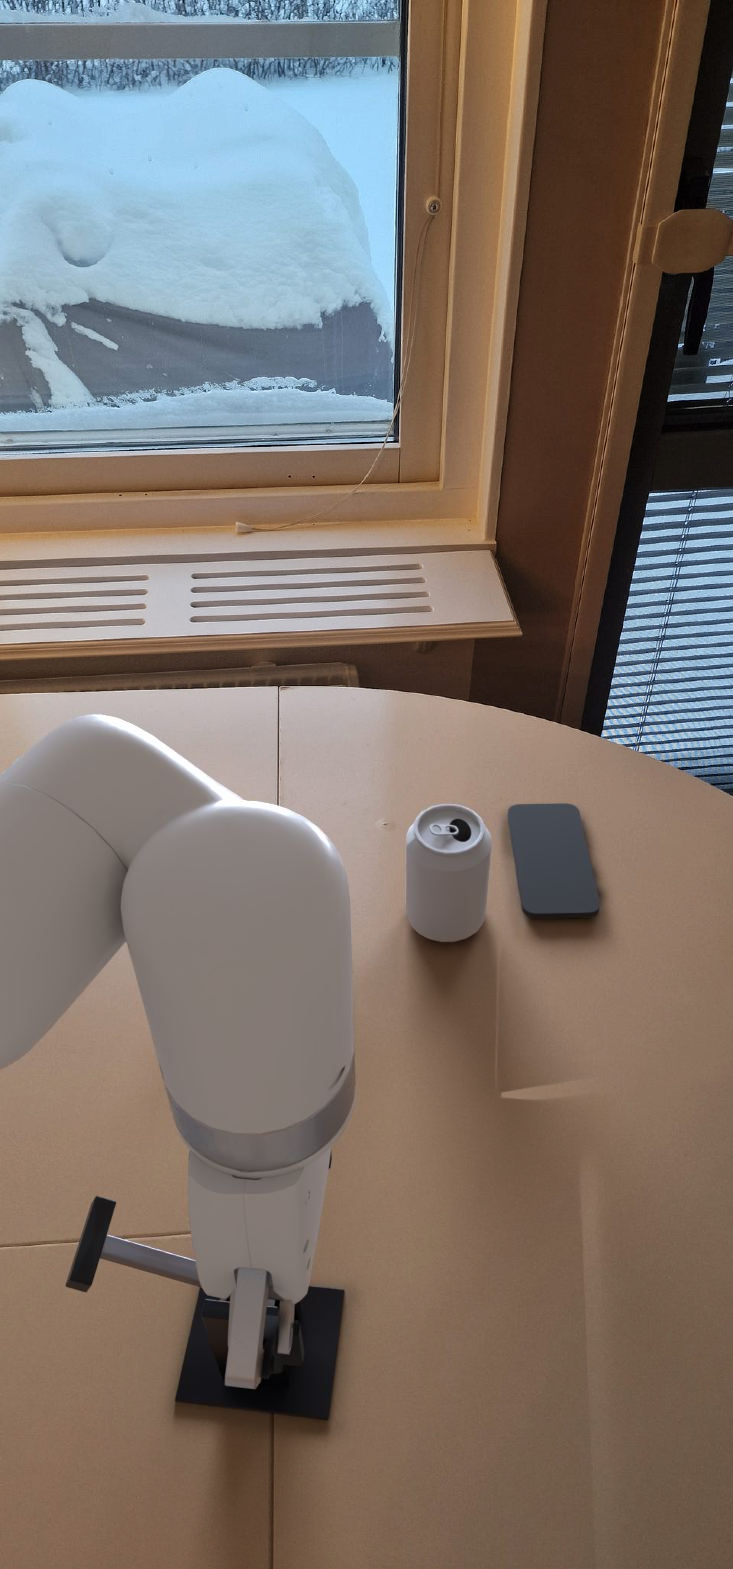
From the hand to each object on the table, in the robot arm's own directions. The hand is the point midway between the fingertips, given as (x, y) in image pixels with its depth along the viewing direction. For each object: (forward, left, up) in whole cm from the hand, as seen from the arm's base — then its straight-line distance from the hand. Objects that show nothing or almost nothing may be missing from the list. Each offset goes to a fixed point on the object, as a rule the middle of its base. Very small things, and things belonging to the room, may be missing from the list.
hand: (287, 1253), depth 53 cm
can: (+6, +41, -22) cm, 47 cm away
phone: (+16, +49, -22) cm, 56 cm away
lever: (-8, +2, -11) cm, 14 cm away
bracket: (-4, +2, -22) cm, 22 cm away
